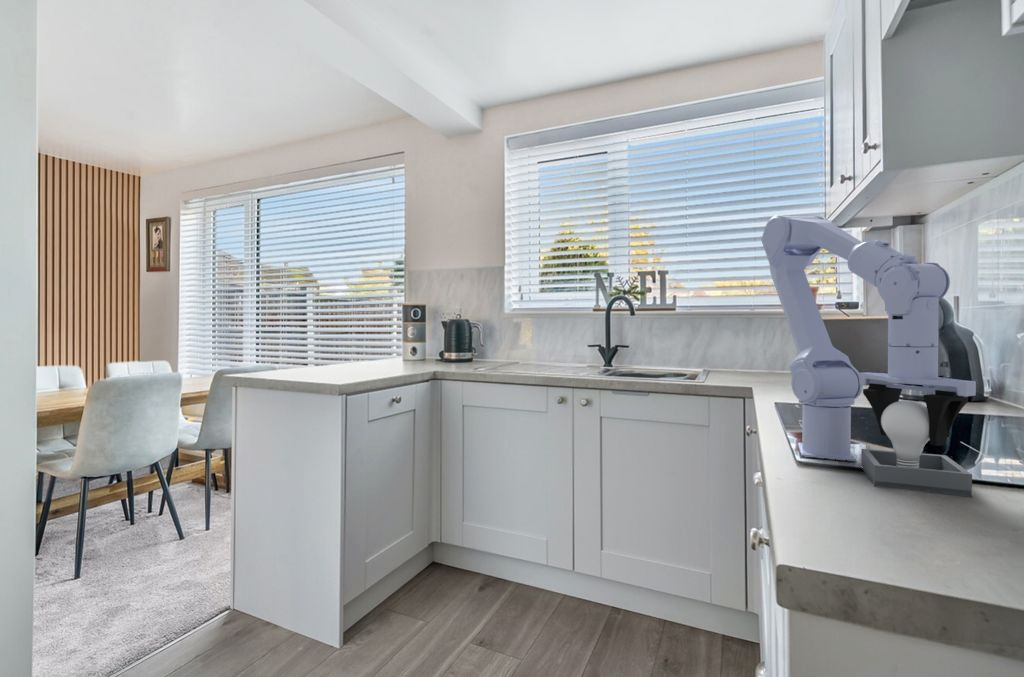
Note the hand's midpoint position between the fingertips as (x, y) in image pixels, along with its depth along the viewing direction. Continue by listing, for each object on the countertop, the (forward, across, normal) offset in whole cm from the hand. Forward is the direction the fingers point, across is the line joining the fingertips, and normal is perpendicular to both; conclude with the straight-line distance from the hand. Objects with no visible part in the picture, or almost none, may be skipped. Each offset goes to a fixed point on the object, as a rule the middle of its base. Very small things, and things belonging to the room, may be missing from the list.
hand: (911, 439), depth 74 cm
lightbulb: (+5, 0, -1) cm, 5 cm away
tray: (+6, 0, 0) cm, 6 cm away
